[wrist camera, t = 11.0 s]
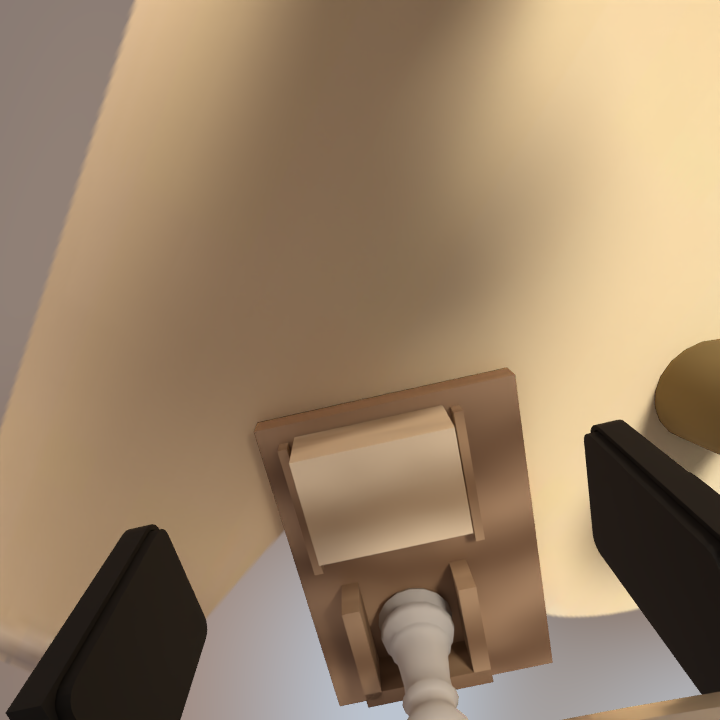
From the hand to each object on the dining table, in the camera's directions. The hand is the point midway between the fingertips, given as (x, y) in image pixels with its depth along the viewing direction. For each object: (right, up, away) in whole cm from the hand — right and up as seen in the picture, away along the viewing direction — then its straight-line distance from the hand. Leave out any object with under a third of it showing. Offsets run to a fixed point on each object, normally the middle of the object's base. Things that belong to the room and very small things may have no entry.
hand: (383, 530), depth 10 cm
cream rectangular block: (+1, -2, +16) cm, 16 cm away
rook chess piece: (+3, -12, +19) cm, 22 cm away
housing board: (+3, -8, +19) cm, 20 cm away
